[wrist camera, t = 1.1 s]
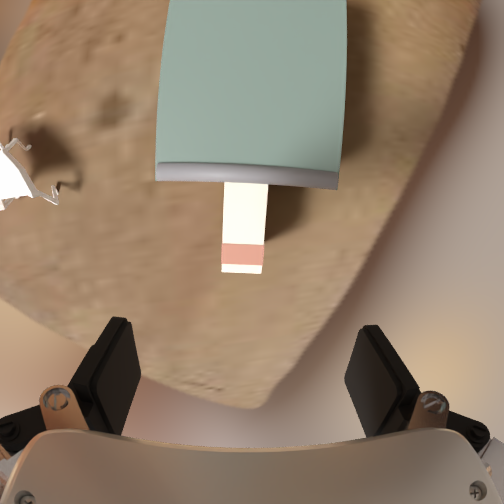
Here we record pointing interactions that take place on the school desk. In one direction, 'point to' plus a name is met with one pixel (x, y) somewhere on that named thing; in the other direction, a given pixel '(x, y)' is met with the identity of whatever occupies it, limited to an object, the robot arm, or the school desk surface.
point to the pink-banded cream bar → (243, 227)
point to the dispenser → (252, 92)
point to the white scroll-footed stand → (17, 178)
